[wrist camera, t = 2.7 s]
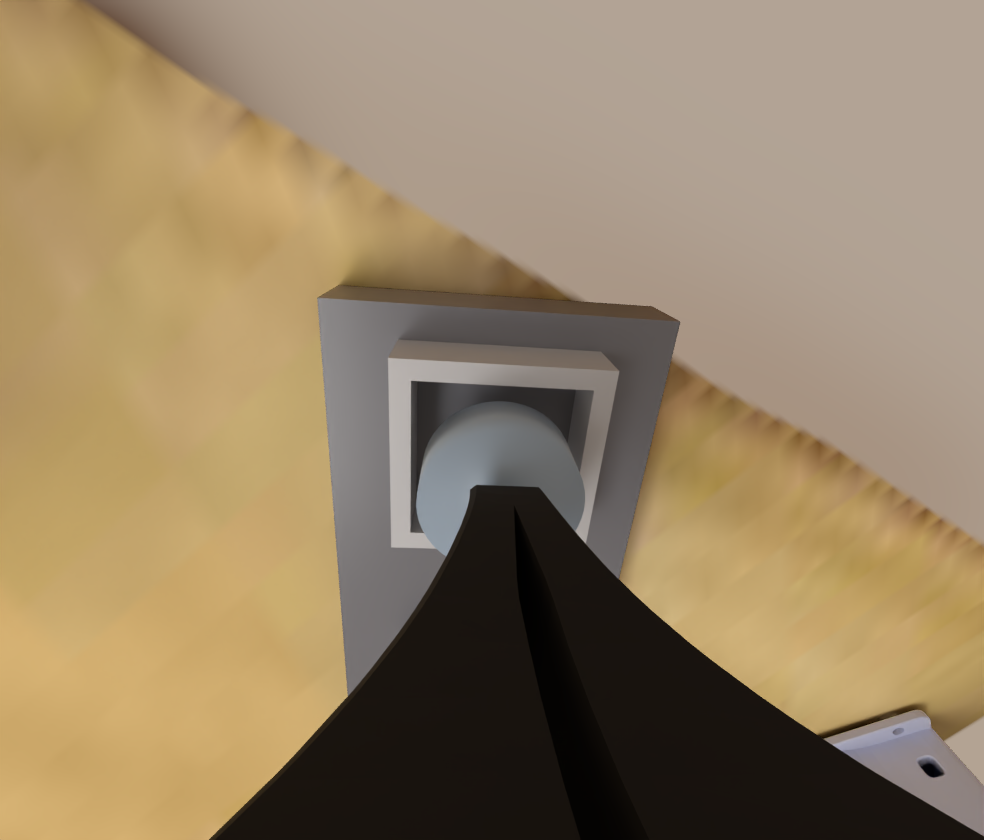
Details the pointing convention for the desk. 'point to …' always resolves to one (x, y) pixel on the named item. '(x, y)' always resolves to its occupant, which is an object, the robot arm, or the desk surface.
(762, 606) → the desk surface
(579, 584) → the robot arm
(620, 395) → the button panel
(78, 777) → the desk surface
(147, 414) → the desk surface
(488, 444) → the slate button
